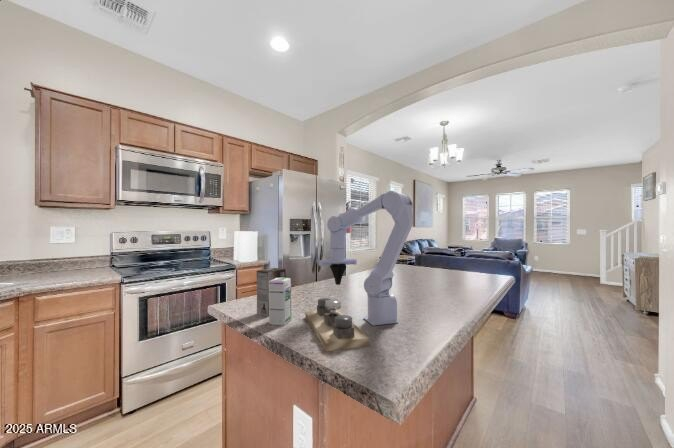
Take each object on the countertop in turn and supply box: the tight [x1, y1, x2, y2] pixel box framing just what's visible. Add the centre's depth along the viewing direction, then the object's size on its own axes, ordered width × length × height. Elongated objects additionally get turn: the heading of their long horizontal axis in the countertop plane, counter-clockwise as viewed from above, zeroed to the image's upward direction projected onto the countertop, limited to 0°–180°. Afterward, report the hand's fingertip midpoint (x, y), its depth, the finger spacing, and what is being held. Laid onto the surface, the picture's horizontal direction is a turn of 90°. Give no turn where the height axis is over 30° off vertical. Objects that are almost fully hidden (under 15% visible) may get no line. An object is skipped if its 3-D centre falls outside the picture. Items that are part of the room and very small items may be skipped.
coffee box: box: [256, 267, 287, 318], centre depth 103 cm, size 9×6×16 cm
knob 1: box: [317, 297, 330, 308], centre depth 94 cm, size 5×5×4 cm
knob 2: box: [335, 314, 353, 328], centre depth 75 cm, size 5×5×4 cm
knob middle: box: [325, 298, 342, 317], centre depth 85 cm, size 5×5×4 cm
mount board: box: [304, 304, 371, 352], centre depth 85 cm, size 12×28×4 cm, turn 18°
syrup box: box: [268, 277, 292, 326], centre depth 92 cm, size 6×6×14 cm
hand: (337, 284), depth 103 cm, fingers closed
